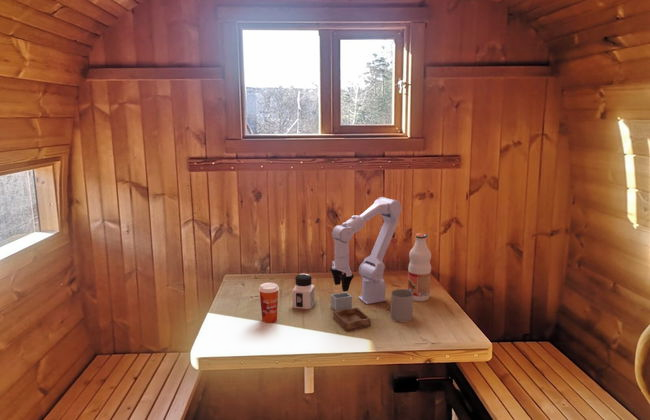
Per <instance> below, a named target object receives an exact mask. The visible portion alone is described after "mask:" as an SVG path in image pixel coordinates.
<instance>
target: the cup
mask: <svg viewBox="0 0 650 420" xmlns="http://www.w3.org/2000/svg"><path fill="white" fill-rule="evenodd" d="M390 298H391V300H390V301H391V302H390V318H391V319H392V320H394V321H396V322H400V323H405V322H406V323H407V322H411V320H413V309H414V307H413V306H414V305H413V304H414V300H413V292H411V291H409V290H408V289H405V288H404V289H403V288H399V289H398V288H397V289H393V290H392V291H391V296H390Z"/></svg>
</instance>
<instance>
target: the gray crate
mask: <svg viewBox="0 0 650 420" xmlns="http://www.w3.org/2000/svg"><path fill="white" fill-rule="evenodd" d="M330 299H331V300H330V307H331V309H332V310H334V311H340V310H345V309H351V308H353V296H352V295H351V294H350V293H348V291H345V292H339V293H332V294H330Z"/></svg>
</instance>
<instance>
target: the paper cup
mask: <svg viewBox="0 0 650 420" xmlns="http://www.w3.org/2000/svg"><path fill="white" fill-rule="evenodd" d="M279 290H280V287H279V285H278V284H277V283H275V282H263V283H262V284H260V285H259V288H258V291H259V299H260V300H259V301H260V309H261V310H260V311H261V320H262V321H263V323H267V324H272V323H276V322H277V320H278V307H279V306H278V302H279Z"/></svg>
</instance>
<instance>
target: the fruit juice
mask: <svg viewBox="0 0 650 420" xmlns="http://www.w3.org/2000/svg"><path fill="white" fill-rule="evenodd" d="M414 239H415V242H414V245H413V247H412V248H411V249H410V250H409V253H408V257H409V263H408V270H407V271H408V272H407V290H409V291H411V292H413V302H414V301H415V302H425V301H428V300H429V299H430V294H431V275H432V274H431V273H432V265H431V259H432V252H431V250H430V249H429V248H428V245H427V239H428V235H427V234H426V233H421V232H417V233H415V235H414Z"/></svg>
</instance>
